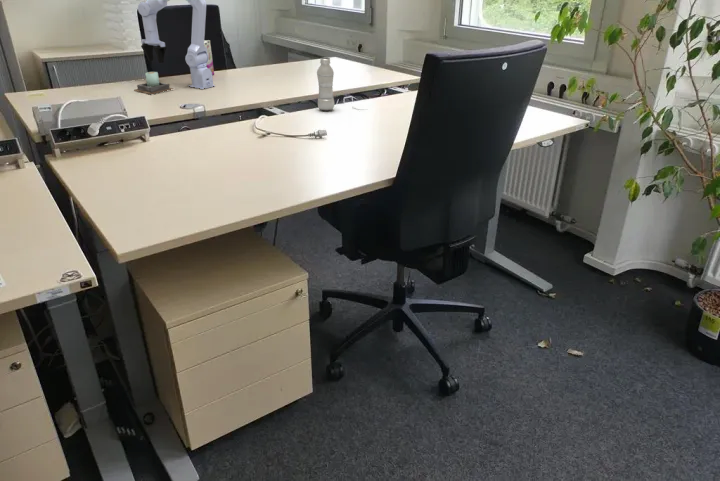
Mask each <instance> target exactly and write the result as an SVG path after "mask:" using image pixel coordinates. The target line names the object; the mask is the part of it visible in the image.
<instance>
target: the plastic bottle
mask: <svg viewBox="0 0 720 481" xmlns="http://www.w3.org/2000/svg"><path fill="white" fill-rule="evenodd" d="M319 61H320V62H319V64H320V65H319V67H318V68H317V69H316V75H317V81H318V99H317V106H318V109H319V110H320V111H326V112H327V111H332V110H333V109H334V107H335V98H334V92H333V91H334V90H333V86H334V84H333V82H334V76H335V75H334V74H335V72H334V70H333V67H332V66H331V65H330V64H331V57H320V60H319Z"/></svg>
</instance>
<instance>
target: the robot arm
mask: <svg viewBox="0 0 720 481" xmlns="http://www.w3.org/2000/svg"><path fill="white" fill-rule="evenodd" d="M169 1H170V0H146V1H145V2H144V1H141V2H140V1H139V3H138V5H137V11H138V13H139V14H140V15H141V17H142V18H141V20H142V24H143V29H144V30H143V31H144V37H145V38H144V39H143V38H142V39H140V41H141V44H142V45H141V46H140V48H141V49H142V50H143V51H144V54H145V55H146V59H147V60H148V62H152V61H154V52H155V54H156V57H157V61H158V62H157V63H158V64H162V63H164V61H165V53H166V51H167V46H166V42H164V41H161V40H160V36H159V31H158V25H157V14H158V12H159V11H161V10H162V9H163V8H165V7H167V6H168V2H169ZM185 1H187V3H189V4H190V6H191V7H192V16H191V40H190V42H191V43H190V45H189V46H188V47H187V53H186V55H185V56H184V57H185V58H184V59H185V62H186V64H187V65H188V68H189V71H190V78H191V84H189V85H187V86H188V87H189V86H190V88H193V87H195V88H194V89H198V88H200V89H199V90H204V88H205V89H209V88H212V87H213V86H214V87H215V86H216V85H215V84H214V80H213V79H214V78H213V76H212V72H211V70H210V69H208V68H207V67H206V65H207V62H208V59H209V58H208V54H207V48H206V47H205V46H204V40H205V35H206V18H207V17H206V16H207V1H206V0H185ZM214 87H213V88H214Z"/></svg>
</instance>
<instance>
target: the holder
mask: <svg viewBox="0 0 720 481" xmlns="http://www.w3.org/2000/svg"><path fill="white" fill-rule="evenodd" d="M159 84H160V86H155V87H148V86H147V82H144V83H139V84H137V85H136V87H137V89H134V90H133V91H134V92H136V91H137V93H140V92H141V94H144V93H146V94H145V95H149V94H154V95H156V94H155V93H158V94H160V93H159V92H163V91H167V90H171V89H174V88H172V87H170V83H166V82H161V81H159ZM167 92H168V91H167ZM163 93H164V92H163Z"/></svg>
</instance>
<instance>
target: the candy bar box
mask: <svg viewBox="0 0 720 481" xmlns="http://www.w3.org/2000/svg"><path fill="white" fill-rule="evenodd" d="M204 46H205V47H206V48H207V54H208V58H209V59H208V62H207V65H206V67H207V68H208V69H210V70H211V72H212V77H213V76H214V75H215V68H214V62H213V54H212V53H213V52H212V46H211V40H209V39H208V40H205V39H204Z"/></svg>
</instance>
